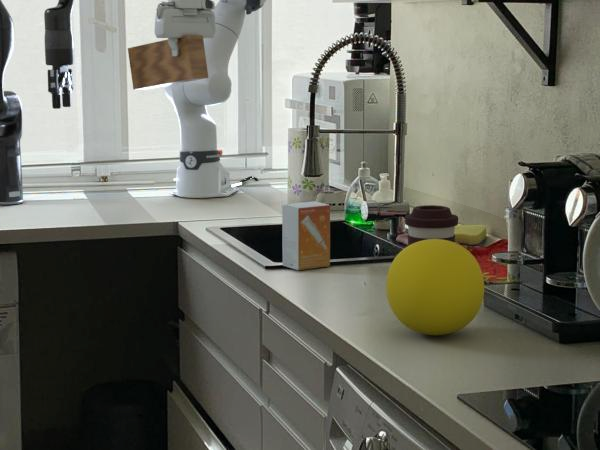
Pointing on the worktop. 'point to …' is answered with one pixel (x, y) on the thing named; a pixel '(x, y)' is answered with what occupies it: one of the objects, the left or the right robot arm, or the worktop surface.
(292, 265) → the small box
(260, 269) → the worktop surface
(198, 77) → the box
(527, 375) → the worktop surface
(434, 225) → the coffee cup
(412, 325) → the toy
